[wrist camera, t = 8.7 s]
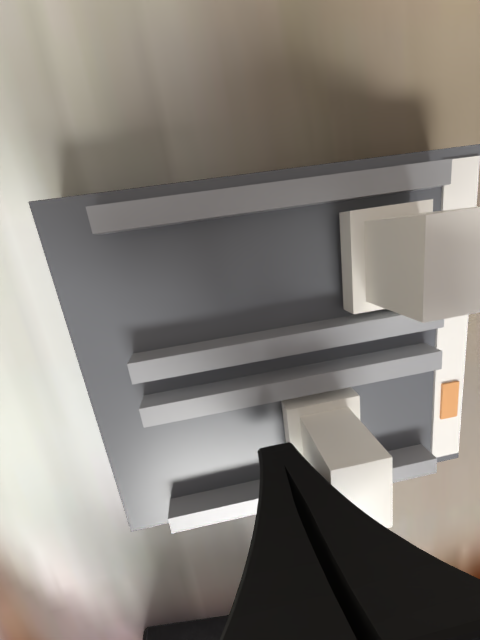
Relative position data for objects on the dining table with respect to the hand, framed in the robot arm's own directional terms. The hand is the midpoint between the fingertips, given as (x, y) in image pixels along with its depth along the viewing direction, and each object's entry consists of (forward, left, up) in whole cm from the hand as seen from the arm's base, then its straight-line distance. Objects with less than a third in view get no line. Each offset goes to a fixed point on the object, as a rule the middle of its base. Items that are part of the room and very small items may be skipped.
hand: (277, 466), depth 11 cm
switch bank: (-1, -4, -4) cm, 6 cm away
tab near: (-5, -7, -2) cm, 9 cm away
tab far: (-2, 0, -2) cm, 3 cm away
